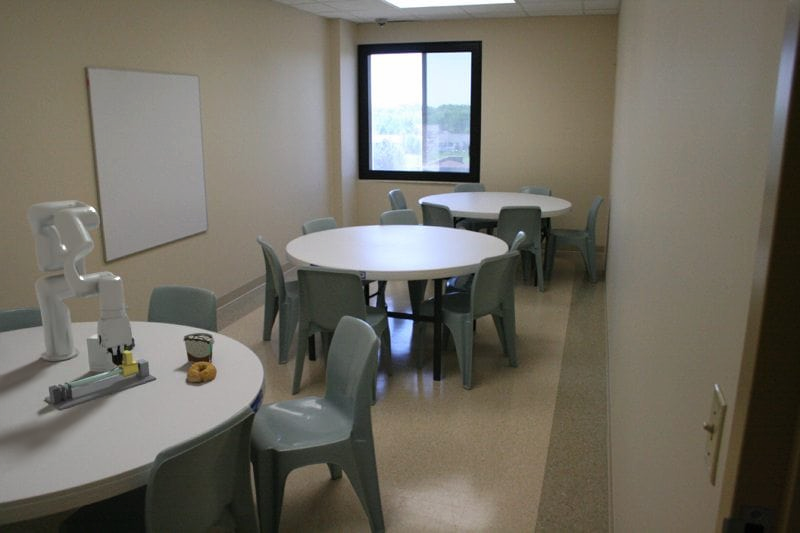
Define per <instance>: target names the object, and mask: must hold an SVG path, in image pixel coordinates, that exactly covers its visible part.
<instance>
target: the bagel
mask: <svg viewBox="0 0 800 533" xmlns="http://www.w3.org/2000/svg"><path fill="white" fill-rule="evenodd" d="M217 372H218V370H217V368H216V366H215V365H214V364H213V363H208V362H197V363H193V364H191V366H190V367H189V368H188V370H187V374H186V377H187V380H188V382H189V383H201V382H208V380H209V381H212V380H214V379H215V377H216V375H217V374H218V373H217Z"/></svg>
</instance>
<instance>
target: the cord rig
mask: <svg viewBox="0 0 800 533" xmlns="http://www.w3.org/2000/svg"><path fill="white" fill-rule="evenodd" d="M135 361H136V362H138V372H139V373H137V374H134V375H131V376H128V377H123V376H121V375H119V374H120V373H123V368H119V369H118V368H117V369H115V368H114V369H112V370H110V371H109V372H105V373H104V372H101V373H99V374H96V375H92V376H89V377H86V378H82V379H79V380H76V381H72V382H64V384H61V383H60V384H57V385H55V384H54V385H51V386H48V392H49V396H46V397H44V400H45V401H47V402H49V403H50V405H52V406H54V407H55V408H57V409H58V410H59V411H63V410H66V409H69V408H72V407H75V406H79V405H81V404H85V403H88V402H91V401H95V400H97V399H100V398H104V397H107V396H109V395H110V396H111V395H112V394H115V393H119V392H123V391H125V390H127V389H131V388H135V387H137V386H140V385H143V384H146V383H149V382H153V381H155V380H157V377H156V376H154V375H151V374H150V365H149V361H148V360H146V359H144V358H141V359H138V360H135Z"/></svg>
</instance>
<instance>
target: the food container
mask: <svg viewBox="0 0 800 533" xmlns="http://www.w3.org/2000/svg"><path fill="white" fill-rule="evenodd" d="M183 342H184V345H185V350H186V358H187V362H189V363H193V362H196V363H197V362H208V363H211V364H213V348H214V347H213V345H214V344H215V338H214V336H213V335H212V334H210V333H207V332H193V333H189V334H186V335H183Z"/></svg>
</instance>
